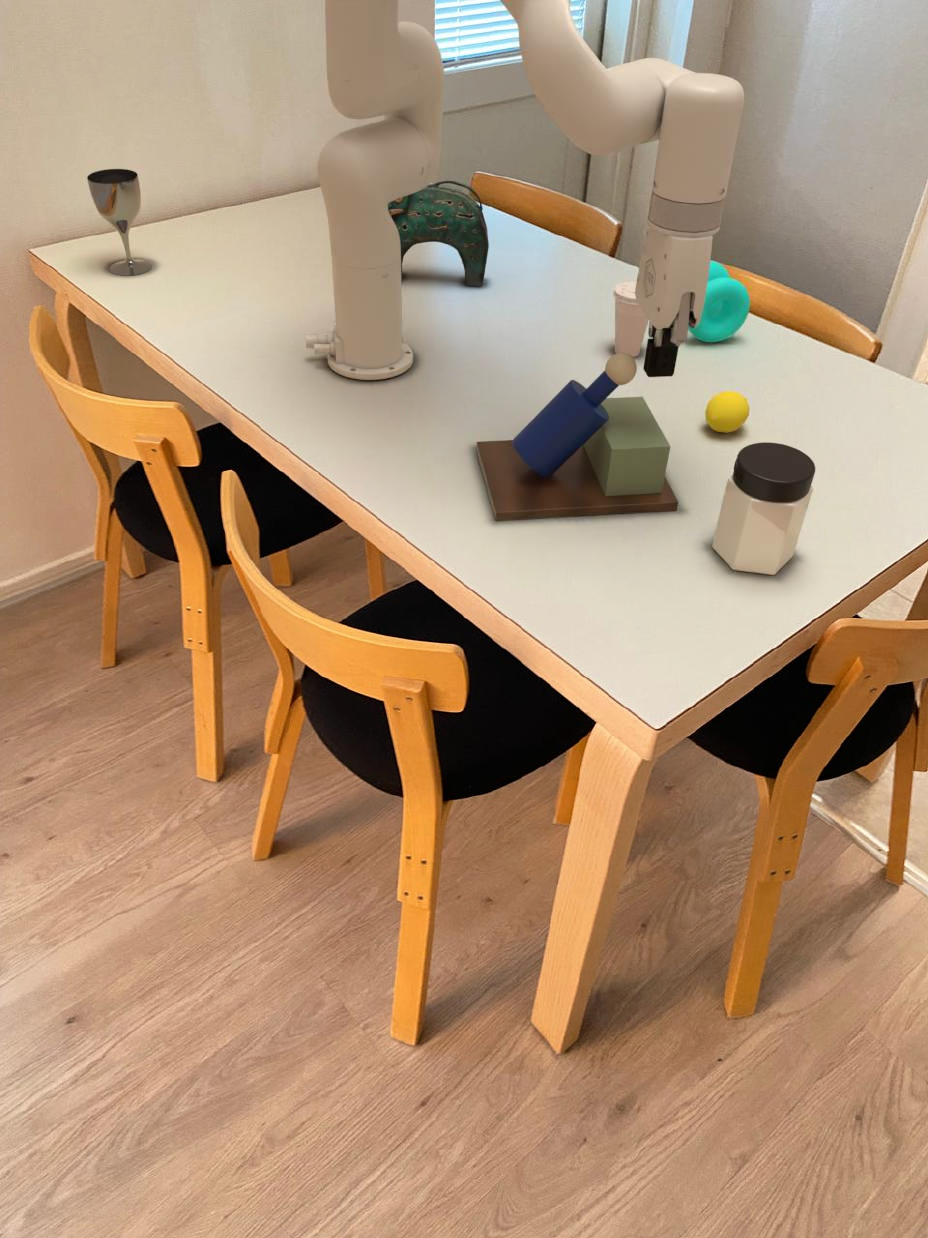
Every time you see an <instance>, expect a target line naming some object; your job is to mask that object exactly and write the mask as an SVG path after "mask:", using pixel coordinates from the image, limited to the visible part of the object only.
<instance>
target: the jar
mask: <svg viewBox="0 0 928 1238" xmlns="http://www.w3.org/2000/svg"><path fill="white" fill-rule="evenodd" d="M733 464H734V465H733V472H732V474H731V475H730V476H729V477H728V478H727V481H726V485H725V489H724V490H725V491H724V494H723V499H722V502H721V506H720V510H719V515H718V519H717V524H716V526H715V531H714V537H713V540H712V545H711V547H712V549H713V550H714V551H715V552H716V554H718V555H719V557H720V558H721V559H722V560H723V561H724V562H725V563H726V564H727V565H728V566H729V567H730V568H731V569H732V570H733V571H740V572H746V573H754V574H755V573H756V574H763V575H771V576H774V575H776V574H777V573H778V572H779V571H780V570H781V569H782V568H783V567H784V566H785V565H786V564H787V563H788V562H789V561H790V560H791V559H792V557H793V556H794V553H795V550H796V546H797V543H798V540H799V537H800V534H801V530H802V527H803V524H804V521H805V517H806V514H807V511H808V508H809V504H810V502H811V497H812V495H813V491H814V487H813V486H812V484H813V481H814V477H815V474H816V465H815V462H814V461H813V459H812V458H811V457H810V456H809V455H808V454H806V453H805V452H803V451H801V450H799V449H798V448H795V447H793V446H790V445H787V444H783V443H777V442H769V441H768V442H766V441H765V442H764V441H763V442H756V443H752V444H748V445H746V446H744V447H743V448H741V449H740V450H739V451H738V453H737V455H736V458H735V460H734V463H733Z"/></svg>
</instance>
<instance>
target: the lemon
mask: <svg viewBox="0 0 928 1238" xmlns="http://www.w3.org/2000/svg"><path fill="white" fill-rule="evenodd" d="M704 415H705V422H706V423H707V424H708V426H709V427H710V429H712V430H713V431H715V432H716V433H726V434H727V433H732V432H734V431H737V430H738V429H740V428H741V427H742V426H743V425H744V424H745V423H746V421H747V419H748V417H749V416H750V406H749V402H748V399H747V398H746V397H745V396H744V395H742V394H741V393H740V392H737V391H734V390H725V391H723V390H722V391H721V392H719V393H717V394H715V395H713V396H712V397H711V399H710V400H709V401H708V402H707V404H706V408H705V411H704Z"/></svg>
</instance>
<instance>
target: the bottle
mask: <svg viewBox="0 0 928 1238" xmlns="http://www.w3.org/2000/svg"><path fill="white" fill-rule="evenodd" d="M637 370H638V367H637V362H636V360H635V359H634V357H631V356H630V355H628V354H626V353H617V354H616V353H614V354H612V355H611V356H610V357H609V358H608V360H607V361H606V363H605V366H604V371H602V373H600V375H598V376H597V377H596V379H595V380H593V381H592V382H591V384H589V385H588V386H587V387H585V386H584V385H583V384H582V383H580V382H579V381H577V380H574V379H570V380H569V382H568V383H566V385H564V387H563V388H561V390H559V392H558V393H557V394H556V395H555V396H554V397H553V398H552V399H551V400H550V401H549V402H548V403H547V404H546V405H545V406H544V407H543V408H542V409H541V410H540V411H539V412H538V413H537V414H536V416H534V418H532V419H531V421H529V423H528V424H527V425H526V426H524V428H522V429H521V430H520V432H518V434H516V436H515V437H514V438H513V439H512V440H513V446H514V448H515V450H516V451H517V453H518V454H519V455H520V457H521V458H522V459H523V460H524V461H525V462H526V464H527V465H529V466H530V467H531V468H532V469H533V470H534V471H536V472H537V473H538V474H540V475H542V476H544V477H546V478H549V477H551V476H552V475H553V474H554V473H555V472H556V471H557V470H558V469H559V468H560V467H561V466H562V465H563V464H564V463H565V462H566V461H567V460H568V459H569V458H570V457H571V456H572V455H573V454H574V453H575V452H576V451H577V450H578V449H579V448H580V447H581V446H582V445H583V444H584V443H585V442H586V441H588V440H589V439H590V438H591V437H592V436H593V435H594V434H595V433H596V432H597V431H598V430H599V429H600V428H601V427H602V426H603V425H604V424H605V423H606V422H607V421H608V420H609V415H608V413H607V411H606V410H605V408H604V407H603V406H602V404H601V403H602V402H603V401H604V400H605V399H606V398H609V397H610V395H611V394H612V393H613V392H614V391H615V390H616V389H617V388H618V387H619V386H625V385H627V384H629V383H631V382H632V381H633V380H634V378H635V376H636V374H637Z"/></svg>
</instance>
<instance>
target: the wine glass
mask: <svg viewBox="0 0 928 1238" xmlns="http://www.w3.org/2000/svg"><path fill="white" fill-rule="evenodd" d="M86 180H87V184H88V189H89V191H90V192H89V193H90V196H91V198H92V202H93V204H94V206H95V208H96V211H97V212H98V213H99V216H101V217H102V219H104V220H105V221H106V222H107V223H108V224H110V225H111V226H112V227H113V228H114V229H115V230H116V231H117V232H118V234H119V236H120V238H121V241H122V244H123V247H124V251H125V257H126V259H123V260H120V261H117V262H115V263H113V264H111V265H110V266H109V272H111V273H112V274H114V275H117V276H125V277H126V276H127V277H128V276H137V275H142V274H145V273H148V272H149V271H150V270H152V268H153V264H152V262H150V261H148V260H144V259H133V258H132V254H131V248H130V239H129V236H130V230H131V227H132V225H133V224H134V223H135V220H136V219H137V217H138V216H139V214H140V211H141V203H142V197H141V196H142V195H141V194H142V193H141V185H140V178H139V174H138V173H137V172H136V171H134V170H131V169H127V168H108V169H102V170H101V169H100V170H97V171H94V172H91V173H90V174H88V175H87V177H86Z"/></svg>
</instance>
